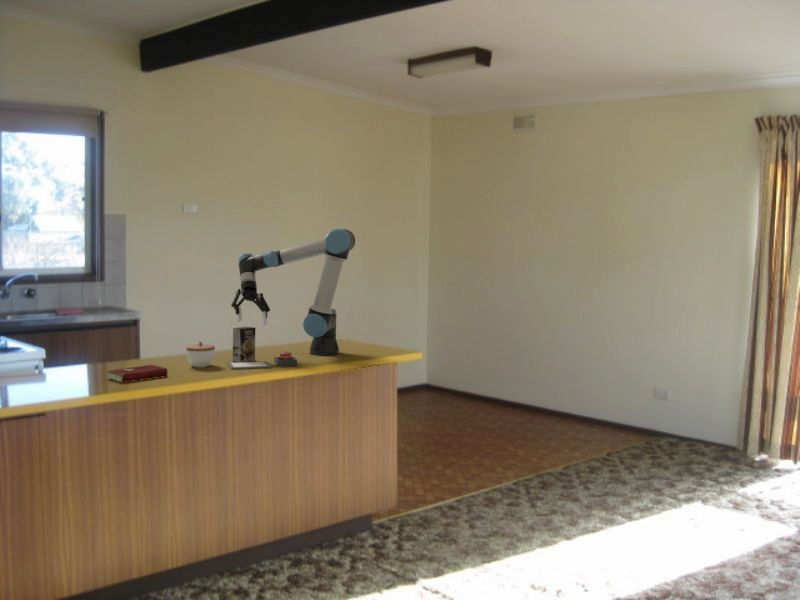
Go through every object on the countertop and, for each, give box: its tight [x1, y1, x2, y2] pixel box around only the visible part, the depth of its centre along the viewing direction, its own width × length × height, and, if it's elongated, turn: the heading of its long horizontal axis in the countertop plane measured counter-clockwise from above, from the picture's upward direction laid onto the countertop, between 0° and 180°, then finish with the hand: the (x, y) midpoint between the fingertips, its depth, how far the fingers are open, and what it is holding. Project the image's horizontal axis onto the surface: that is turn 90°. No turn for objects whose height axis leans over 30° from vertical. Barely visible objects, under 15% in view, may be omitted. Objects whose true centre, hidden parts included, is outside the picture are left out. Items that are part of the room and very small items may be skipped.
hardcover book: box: [106, 364, 169, 383], centre depth 333 cm, size 12×21×4 cm, turn 139°
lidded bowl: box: [185, 341, 216, 368], centre depth 362 cm, size 13×13×11 cm
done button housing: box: [273, 356, 298, 367], centre depth 370 cm, size 9×9×3 cm
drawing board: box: [226, 361, 272, 370], centre depth 364 cm, size 18×13×1 cm
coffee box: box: [232, 326, 256, 363], centre depth 377 cm, size 9×6×16 cm
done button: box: [279, 351, 292, 360], centre depth 370 cm, size 6×6×3 cm
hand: (252, 322), depth 381 cm, fingers open, 13 cm apart
